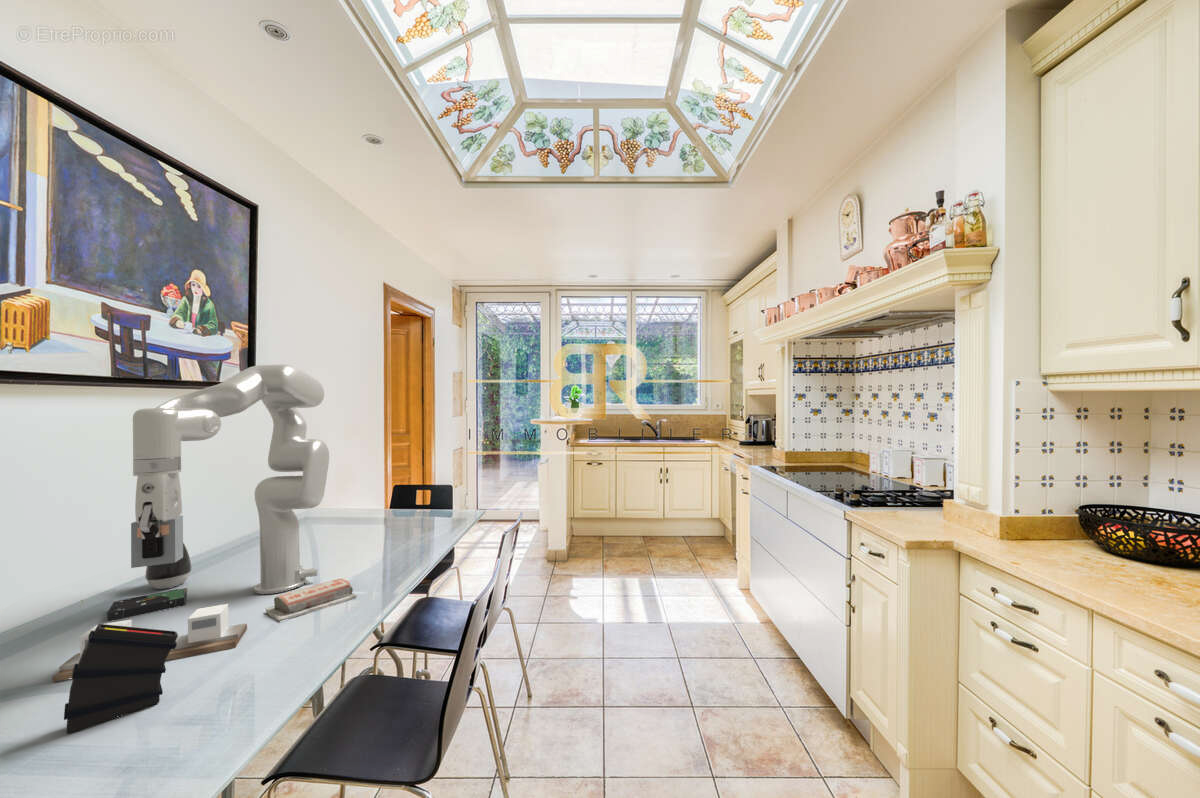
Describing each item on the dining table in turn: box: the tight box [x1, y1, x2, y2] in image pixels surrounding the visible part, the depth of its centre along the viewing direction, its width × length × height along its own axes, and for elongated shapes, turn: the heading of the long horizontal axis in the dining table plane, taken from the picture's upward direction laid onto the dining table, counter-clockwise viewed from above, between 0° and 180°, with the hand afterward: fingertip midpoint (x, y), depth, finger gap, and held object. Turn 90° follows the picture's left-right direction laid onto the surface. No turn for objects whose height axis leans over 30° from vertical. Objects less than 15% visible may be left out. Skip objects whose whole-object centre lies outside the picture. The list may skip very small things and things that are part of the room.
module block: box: [130, 514, 184, 569], centre depth 102 cm, size 7×5×9 cm
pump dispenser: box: [144, 542, 192, 590], centre depth 144 cm, size 10×10×15 cm
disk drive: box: [106, 587, 188, 622], centre depth 128 cm, size 10×3×15 cm
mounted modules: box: [79, 603, 230, 658], centre depth 101 cm, size 22×6×5 cm, turn 115°
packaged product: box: [265, 578, 357, 622], centre depth 125 cm, size 18×5×10 cm
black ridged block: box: [63, 623, 179, 735], centre depth 80 cm, size 4×13×15 cm, turn 136°
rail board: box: [52, 623, 248, 683], centre depth 101 cm, size 28×10×2 cm, turn 115°
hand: (158, 553), depth 102 cm, fingers closed on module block, 4 cm apart
